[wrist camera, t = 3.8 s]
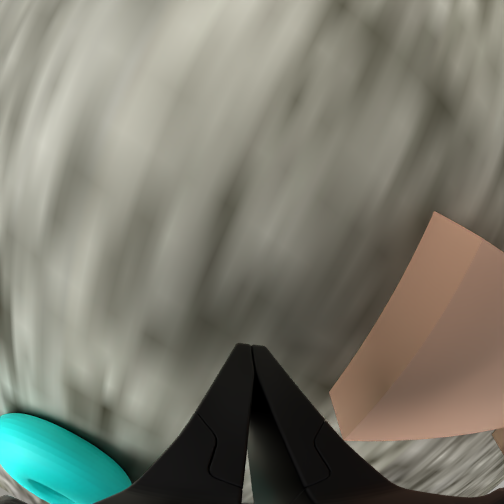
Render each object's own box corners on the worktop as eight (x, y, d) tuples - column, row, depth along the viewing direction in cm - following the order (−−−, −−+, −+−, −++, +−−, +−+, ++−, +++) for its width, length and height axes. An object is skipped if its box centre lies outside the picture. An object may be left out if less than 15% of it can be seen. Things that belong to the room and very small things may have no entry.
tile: (326, 384, 12) (343, 440, 9) (427, 207, 9) (482, 238, 6) (498, 396, 14) (518, 424, 12) (562, 299, 12) (589, 322, 9)
